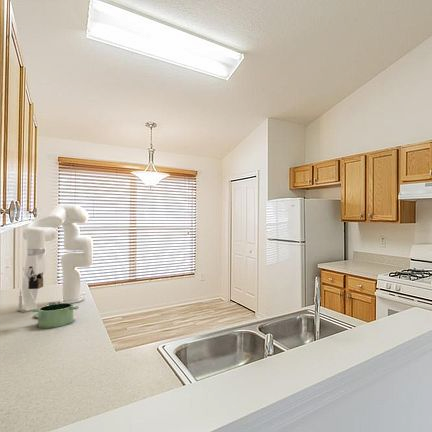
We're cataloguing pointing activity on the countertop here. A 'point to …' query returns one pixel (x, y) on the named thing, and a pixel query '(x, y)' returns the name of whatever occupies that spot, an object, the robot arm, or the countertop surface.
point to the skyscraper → (27, 296)
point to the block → (38, 283)
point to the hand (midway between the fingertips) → (35, 287)
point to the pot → (55, 315)
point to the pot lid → (49, 304)
